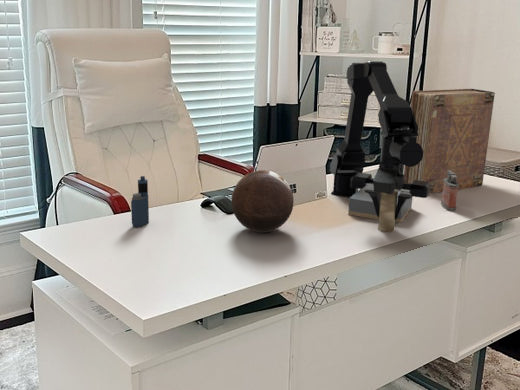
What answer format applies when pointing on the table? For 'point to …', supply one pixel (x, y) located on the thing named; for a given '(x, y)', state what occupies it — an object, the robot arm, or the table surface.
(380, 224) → the wooden pin
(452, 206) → the lighter
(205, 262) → the table surface
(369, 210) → the grey square-holed block
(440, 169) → the book
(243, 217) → the wooden sphere
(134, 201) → the vaping device
